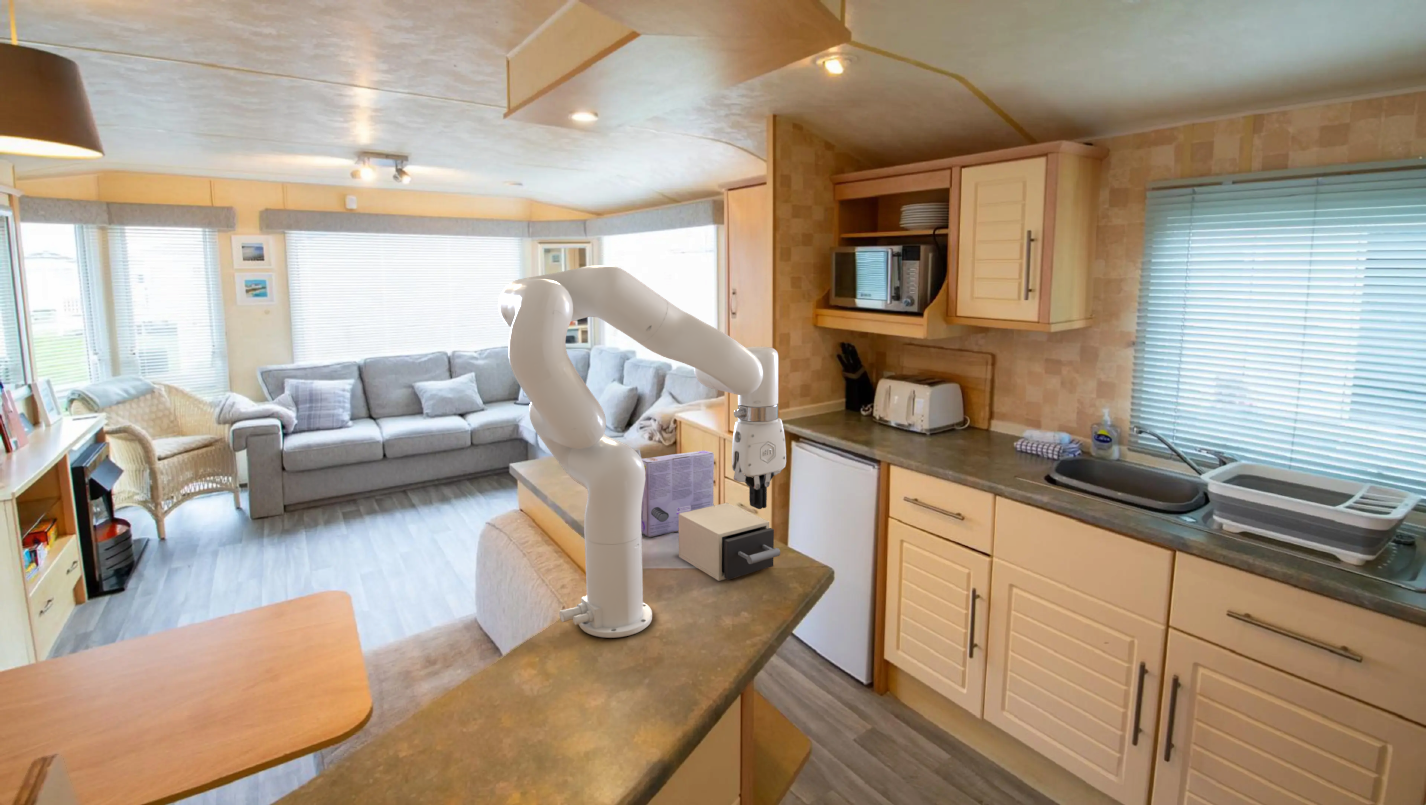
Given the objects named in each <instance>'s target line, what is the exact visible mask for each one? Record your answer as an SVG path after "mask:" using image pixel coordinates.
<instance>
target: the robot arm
mask: <svg viewBox="0 0 1426 805" xmlns="http://www.w3.org/2000/svg"><path fill="white" fill-rule="evenodd" d="M497 307H498V312H499V315H500V317H501V318H502V320H503V322H504V323H505V324H506V325H507V326H508V327H510V331H509V338H508V361H509V365H510V369H511V372H512V374H513V376H514V378H515V380H516V382H517V383H518V385H519V386H520V388H521V389H522V391H523V393H524V394H525V395H526V397H527V399H528V400H529V402H530V404H529V410H528V412H529V414H528V415H529V420H530V423H531V425H532V428H533V429H534V431H535V432H536V434H537V435H538V437H539V438H540V439H541V441H542V442H543V444H544V445H545V447H546V448H547V449H548V451H549V452H550V453H551V455H552V456H553V458H554V459H555V461H557V463H558V464H559V465H560V467H561V468H562V469H563V470H564V472H565V473H566V474H567V475H568V477H569V478H571V479H572V480H573V481H575V482H576V483H577V484H579V485H580V486H582V487H584V488H585V490H586V491H587V499H586V500H587V501H586V505H585V510H584V517H583V518H584V519H583V532H584V554H585V557H584V558H585V578H586V579H585V585H586V586H585V587H586V595H583V596H581V598H580V602H581V603H578V604H576V606H575V607H569V608H566V609H563V610H560V611H559V619H560V621H561V623H566V622H570V621H572V623H573V624H574V625H575V626H576V625H578V626H579V628H580V629H581V630H582V631H583V632H584V633H586V634H588V635H591V636H594V637H597V638H608V639H612V638H613V639H615V638H624V637H627V636H632V635H635V634H638V633H639V632H642V631H643V630H645V629H646V628H647V627H648V626H649V625H651V623H652V621H653V610H652V608H651V607H650V606H649V604H647V603H645V602H644V585H643V583H644V581H643V580H644V579H643V578H644V577H643V536H642V534H643V533H642V532H641V508H642V498H643V492H644V486H645V467H644V464H643V461H642V459H643V458H642V456H641V457H640V456H639V455H638V453H637V452H636V451H635V449H633V447H631V446H630V445H628V444H626V443H624V442H622V441H620V440H617V439H616V438H612V437H610V436H608V435H606V434H605V432H606V429H607V419H606V415H605V412H604V408H603V407H602V405H601V404H600V402H599V401H598V400H597V398H596V397H595V395H594V394H593V393H592V392H591V390H590V388H589V387H588V385H587V384H586V382H585V381H584V380H583V378H582V376H581V375H580V373H579V372H578V370H577V369H576V367H575V365H574V363H573V362H572V360H571V358H570V357H569V354H568V352H567V348H566V347H567V346H566V342H567V341H566V340H567V333H568V330H569V327H570V325H571V322H575V321H577V320H581V319H586V318H598V319H600V320H602V321H604V322H605V323H607V324H608V325H610V326H611V327H613V328H615V329H616V330H618V331H620V332H621V333H623V334H625V335H626V336H628V337H629V338H630V339H632V340H634V341H635V342H636V343H638V344H639V345H641V346H642V347H644V348H645V349H647V350H649V351H651V352H652V353H655V354H657V355H659V356H661V357H663V358H665V359H666V358H667V359H669V360H673V361H675V362H679V363H682V364H685V365H687V366H690V367H692V368H693V373H694V376H695V379H696V380H697V381H698V382H699V383H700V384H701V385H703V386H704V387H706V388H707V389H708V388H709V389H712V390H716V391H720V392H724V393H730V394H732V395H737V409H736V410H734V411H733V416H734V418H737V420H736V421H735V424H734V429H733V435H732V445H731V468H732V471H733V472H734V474H733V480H734V481H736V482H738V483H745V485H746V486H747V487H748V488H749V489H748V491H749V492H748V494H749V495H748V496H749V500H748V502H749V506H750V507H752V508H755V509H757V510H762V509H766V508H767V506H768V505H767V501H768V488H769V487H770V485H771V481H772V479H773V478H774V476H775V477H776V476H777V475H778V474H781V472H782V470H783V469H785V468H786V466H787V446H786V445H787V444H786V435H785V429H784V423H783V421H782V418H780V417H779V353H778V350H776V349H775V348H773V347H770V346H748V347H745V346H744V345H743V344H742V343H740V342H739V341H737V340H736V339H735V338H733V337H731V336H730V335H728V334H726V333H725V332H724V331H722V330H719V329H718V328H716V327H714V326H712V325H710V324H708V323H706V322H704V321H702V320H700V319H699V318H697V317H696V316H694V315H692V314H691V313H688V312H686V311H684V310H683V309H680V308H679V307H678V306H676V305H674V304H673V303H671V302H670V301H669V300H667V299H665V298H664V297H663V296H661V295H660V294H658V293H657V292H656V291H655V290H653V289H651V288H650V287H649V286H647V285H646V284H645V283H643V282H642V281H640V280H639V279H638V278H636V277H635V276H633V275H632V274H631V273H629V272H627V271H626V270H624V269H622V268H621V267H617V266H616V265H609V264H608V265H604V264H602V265H588V266H582V267H578V268H573V269H567V270H563V271H558V272H552V273H547V274H541V275H535V276H529V277H523V278H518V279H515V280H513V281H512V282H509V284H507V285H505V287H504V288H503V290H501V292H500V295H499V297H498V304H497ZM641 458H642V459H641Z"/></svg>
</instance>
